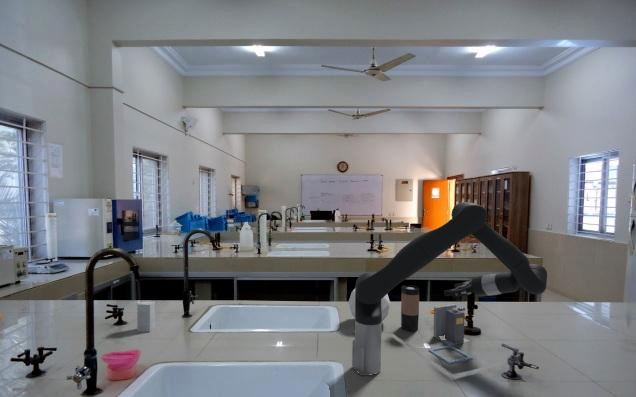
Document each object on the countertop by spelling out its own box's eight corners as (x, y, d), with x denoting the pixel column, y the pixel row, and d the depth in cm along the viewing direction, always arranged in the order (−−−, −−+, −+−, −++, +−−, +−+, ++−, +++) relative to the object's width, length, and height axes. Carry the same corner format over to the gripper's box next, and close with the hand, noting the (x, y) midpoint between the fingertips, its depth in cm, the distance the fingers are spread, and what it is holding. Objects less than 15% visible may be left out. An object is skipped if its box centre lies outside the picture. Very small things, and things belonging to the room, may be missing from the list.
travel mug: (414, 336, 146) (415, 290, 146) (397, 332, 151) (398, 287, 150) (420, 331, 152) (421, 287, 152) (404, 326, 157) (405, 283, 157)
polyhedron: (375, 341, 156) (380, 317, 144) (339, 317, 166) (341, 293, 154) (394, 312, 168) (400, 287, 156) (360, 292, 178) (363, 267, 165)
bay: (449, 349, 135) (450, 314, 135) (433, 339, 144) (434, 306, 143) (470, 344, 139) (471, 311, 139) (453, 335, 148) (454, 303, 148)
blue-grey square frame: (449, 368, 121) (449, 362, 120) (428, 354, 131) (428, 349, 131) (472, 362, 125) (472, 357, 125) (450, 349, 135) (450, 344, 135)
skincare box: (155, 328, 151) (155, 301, 151) (149, 332, 147) (150, 304, 147) (142, 327, 152) (142, 301, 152) (136, 331, 148) (136, 304, 147)
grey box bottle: (454, 343, 137) (455, 311, 136) (445, 338, 142) (446, 307, 141) (463, 341, 139) (464, 310, 138) (454, 336, 143) (455, 306, 143)
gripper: (491, 270, 133) (454, 276, 145) (476, 280, 124) (437, 286, 136) (498, 289, 132) (460, 293, 144) (483, 301, 123) (444, 305, 134)
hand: (449, 290), depth 140 cm, fingers open, 8 cm apart
